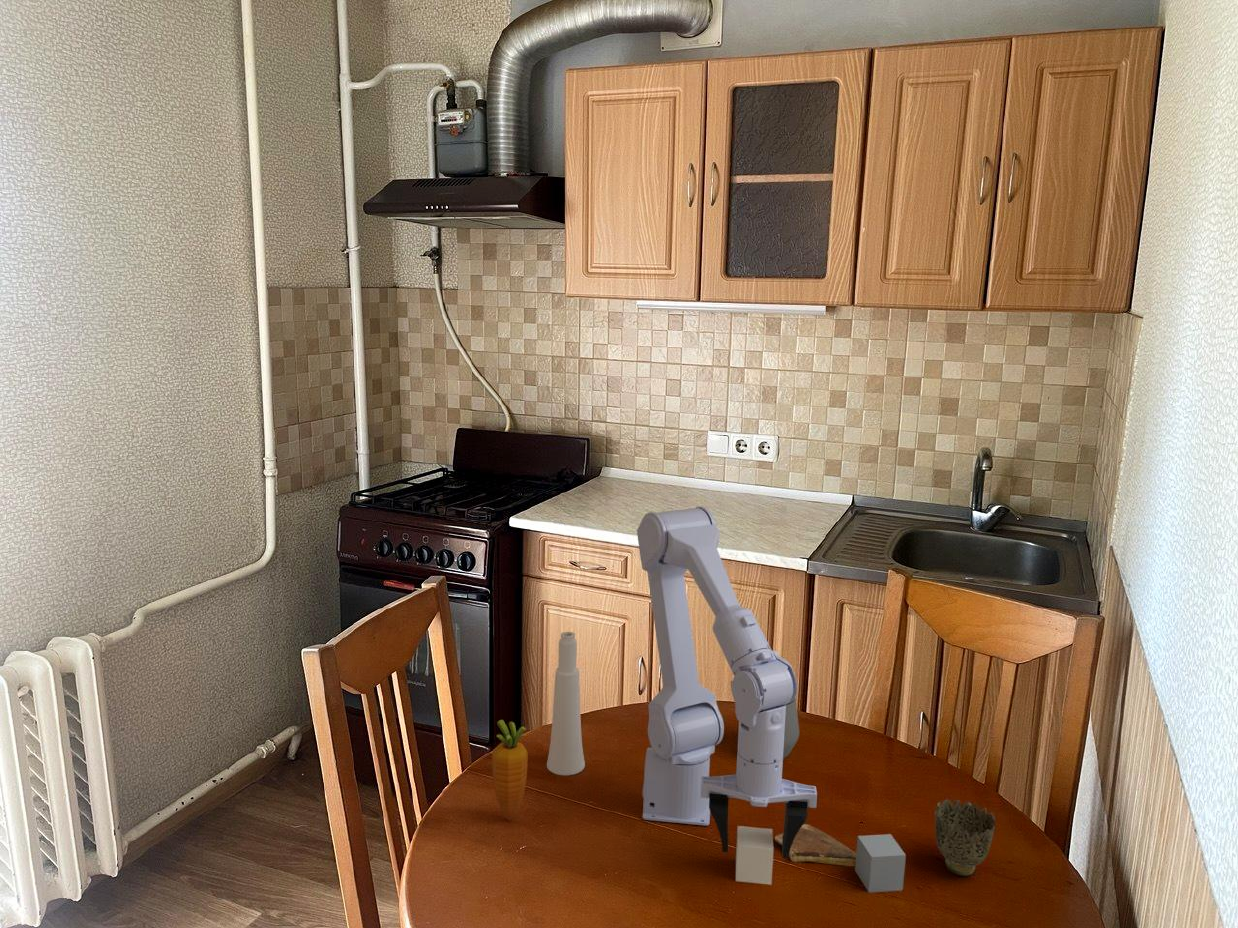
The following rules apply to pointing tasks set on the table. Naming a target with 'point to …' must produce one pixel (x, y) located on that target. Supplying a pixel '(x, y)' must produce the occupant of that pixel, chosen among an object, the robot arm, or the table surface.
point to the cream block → (754, 855)
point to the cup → (790, 727)
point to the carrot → (509, 769)
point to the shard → (818, 848)
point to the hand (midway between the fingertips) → (755, 850)
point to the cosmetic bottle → (566, 713)
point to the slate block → (880, 863)
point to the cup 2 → (963, 835)
